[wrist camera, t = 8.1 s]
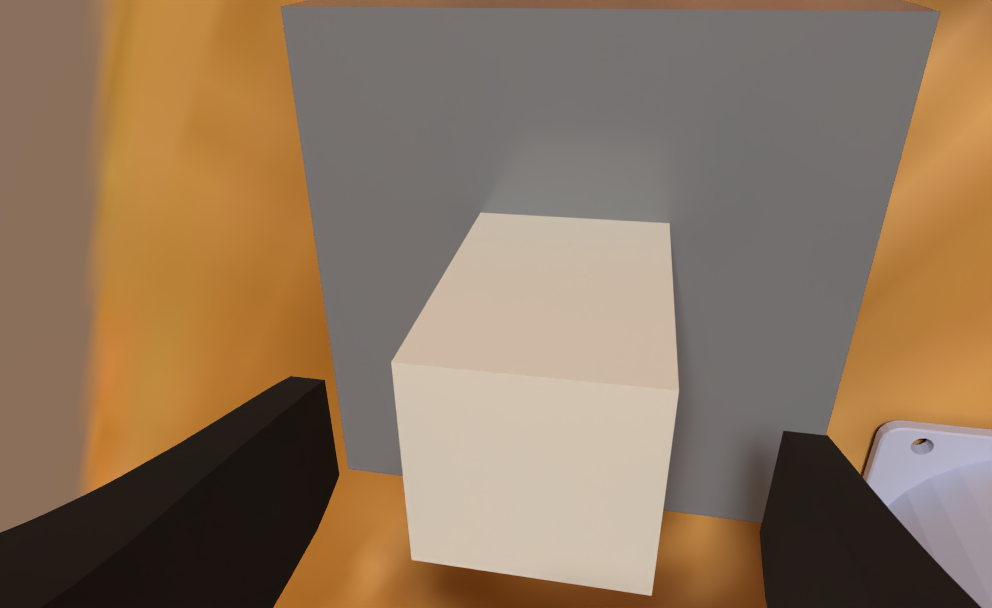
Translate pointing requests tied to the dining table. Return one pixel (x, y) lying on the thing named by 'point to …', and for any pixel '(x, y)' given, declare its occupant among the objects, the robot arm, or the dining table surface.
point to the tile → (615, 185)
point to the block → (543, 402)
